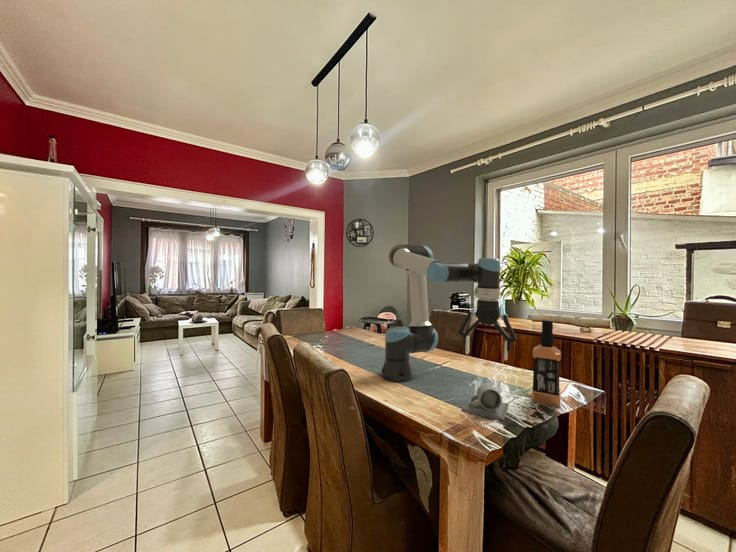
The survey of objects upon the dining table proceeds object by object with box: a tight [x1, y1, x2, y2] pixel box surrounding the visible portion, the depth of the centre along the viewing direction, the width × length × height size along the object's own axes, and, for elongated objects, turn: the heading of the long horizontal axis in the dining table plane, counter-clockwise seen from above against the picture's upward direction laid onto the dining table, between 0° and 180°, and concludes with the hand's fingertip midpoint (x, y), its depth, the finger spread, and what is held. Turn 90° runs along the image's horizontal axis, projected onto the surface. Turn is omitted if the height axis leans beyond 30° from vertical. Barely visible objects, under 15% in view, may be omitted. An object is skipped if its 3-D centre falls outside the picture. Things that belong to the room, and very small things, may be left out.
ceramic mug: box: [468, 383, 503, 411], centre depth 114 cm, size 11×8×8 cm
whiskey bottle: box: [530, 319, 562, 408], centre depth 122 cm, size 10×10×32 cm
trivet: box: [461, 395, 510, 422], centre depth 114 cm, size 14×14×1 cm
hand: (485, 356), depth 114 cm, fingers open, 13 cm apart
